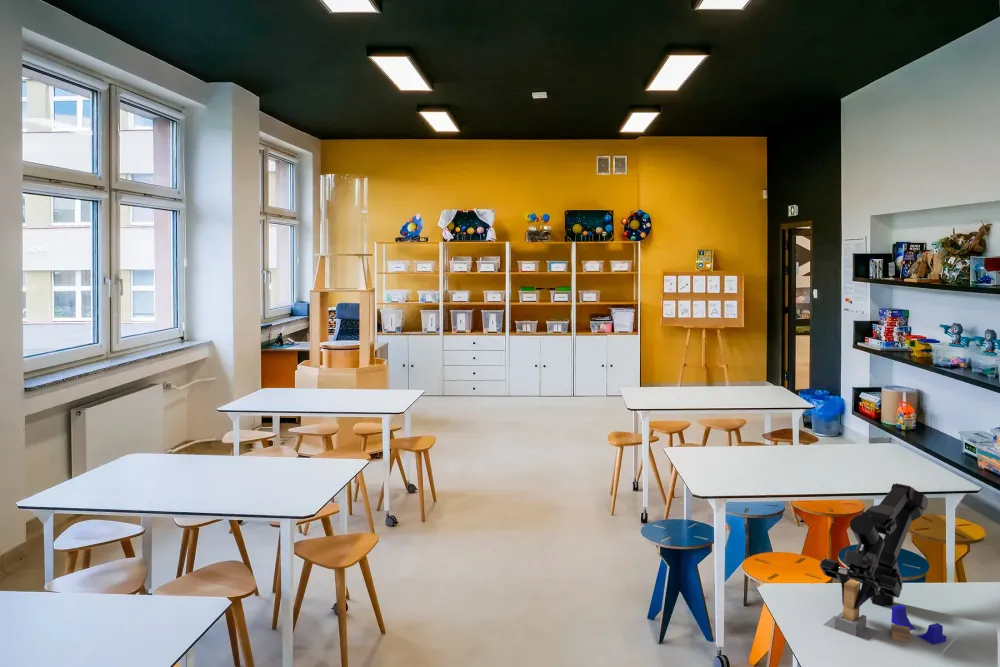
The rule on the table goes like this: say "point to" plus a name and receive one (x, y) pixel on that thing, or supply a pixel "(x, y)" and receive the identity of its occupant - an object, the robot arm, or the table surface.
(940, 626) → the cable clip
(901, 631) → the upper offcut
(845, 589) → the tall strip
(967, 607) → the table surface
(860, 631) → the rack
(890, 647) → the table surface
